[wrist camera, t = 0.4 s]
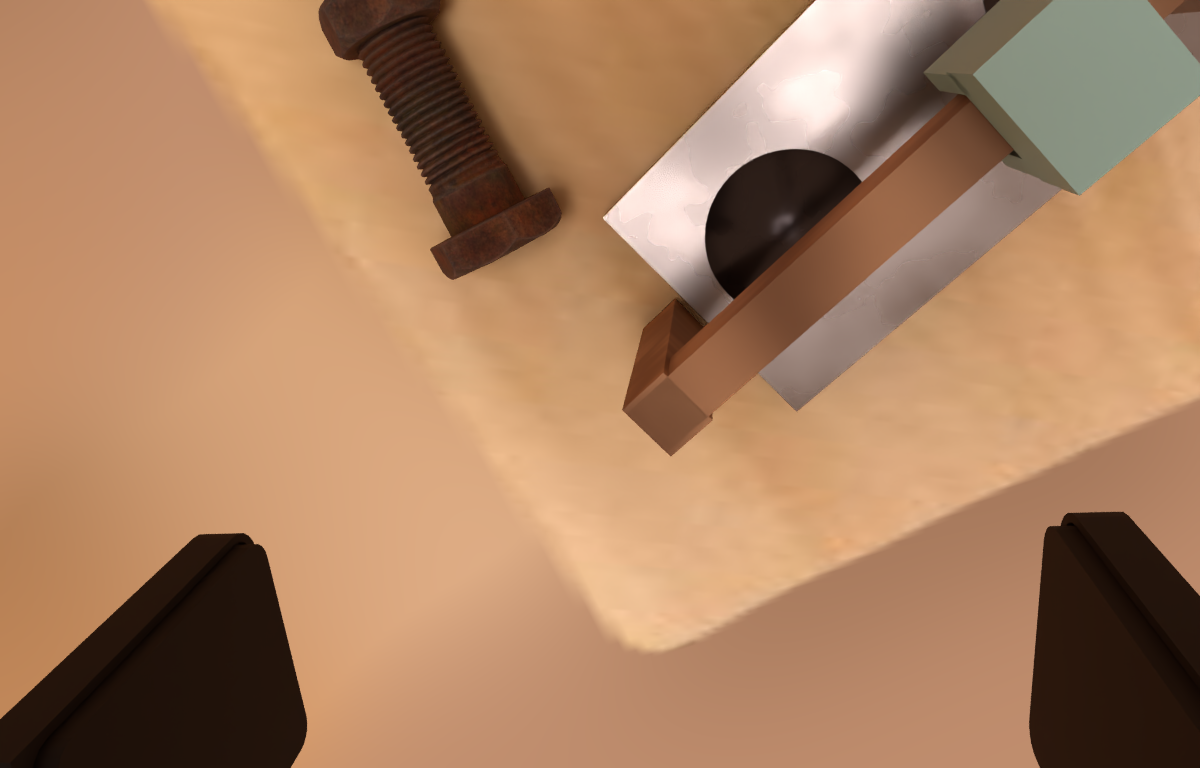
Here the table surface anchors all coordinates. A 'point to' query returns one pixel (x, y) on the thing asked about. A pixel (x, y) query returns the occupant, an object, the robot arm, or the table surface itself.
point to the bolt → (439, 130)
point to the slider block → (1071, 82)
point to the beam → (812, 273)
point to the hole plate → (823, 175)
